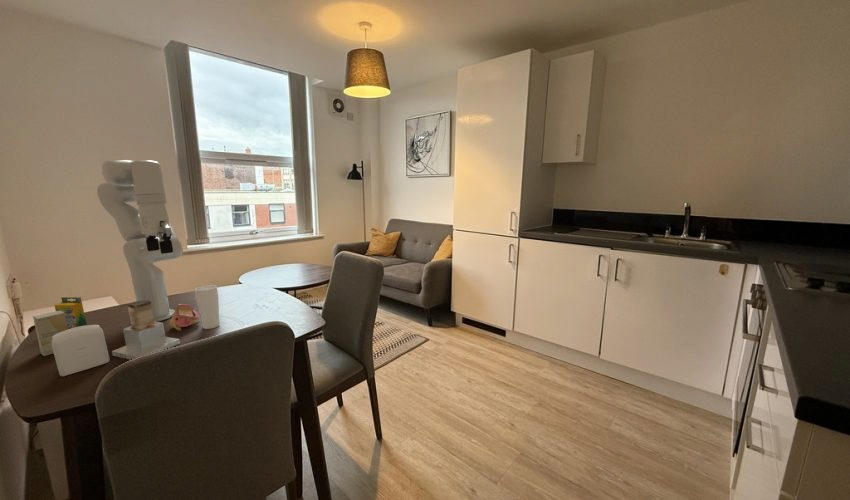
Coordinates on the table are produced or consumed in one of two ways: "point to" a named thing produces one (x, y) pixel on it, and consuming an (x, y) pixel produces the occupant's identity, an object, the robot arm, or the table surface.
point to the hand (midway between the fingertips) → (160, 251)
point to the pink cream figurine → (184, 316)
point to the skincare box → (49, 329)
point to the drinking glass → (208, 305)
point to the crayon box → (72, 312)
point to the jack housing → (144, 341)
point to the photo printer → (79, 349)
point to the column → (140, 314)
